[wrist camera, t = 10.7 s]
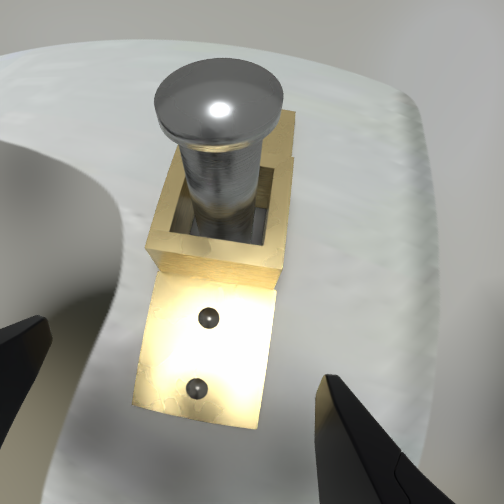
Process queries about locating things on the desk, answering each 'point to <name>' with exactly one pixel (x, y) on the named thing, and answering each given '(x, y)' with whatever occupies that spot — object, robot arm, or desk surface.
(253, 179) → the hinge pin
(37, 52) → the desk surface
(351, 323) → the desk surface
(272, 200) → the brass socket plate
